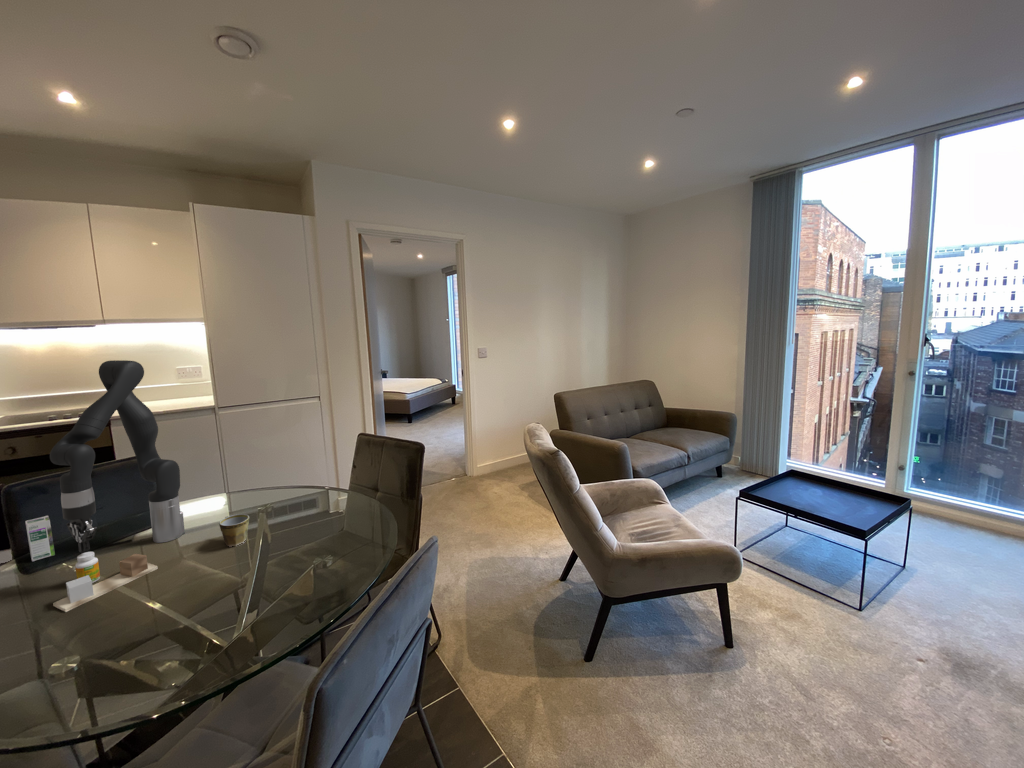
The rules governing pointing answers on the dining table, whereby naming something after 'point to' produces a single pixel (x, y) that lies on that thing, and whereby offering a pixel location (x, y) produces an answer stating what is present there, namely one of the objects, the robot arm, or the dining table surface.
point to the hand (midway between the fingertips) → (84, 551)
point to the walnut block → (133, 565)
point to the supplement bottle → (87, 566)
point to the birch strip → (102, 588)
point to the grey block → (79, 589)
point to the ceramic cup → (234, 529)
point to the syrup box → (40, 538)
